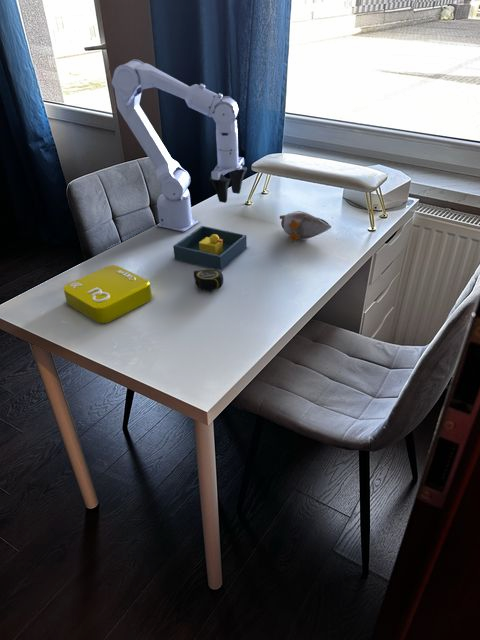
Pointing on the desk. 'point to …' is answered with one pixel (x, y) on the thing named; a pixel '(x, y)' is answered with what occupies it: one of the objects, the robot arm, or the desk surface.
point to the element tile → (107, 293)
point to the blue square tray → (192, 254)
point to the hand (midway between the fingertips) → (229, 197)
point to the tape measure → (208, 279)
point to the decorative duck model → (303, 225)
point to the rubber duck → (211, 245)
